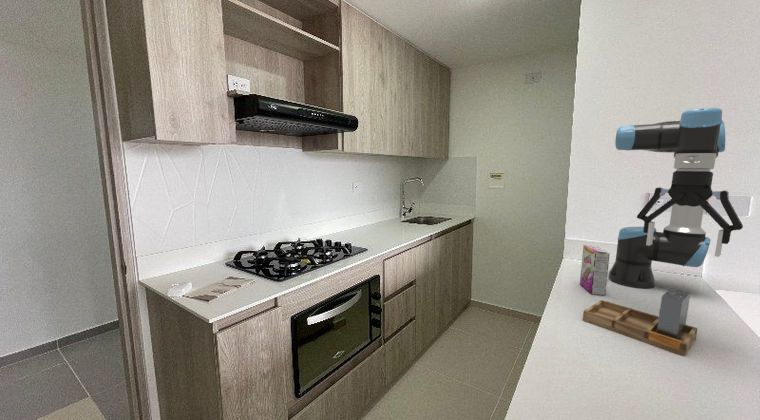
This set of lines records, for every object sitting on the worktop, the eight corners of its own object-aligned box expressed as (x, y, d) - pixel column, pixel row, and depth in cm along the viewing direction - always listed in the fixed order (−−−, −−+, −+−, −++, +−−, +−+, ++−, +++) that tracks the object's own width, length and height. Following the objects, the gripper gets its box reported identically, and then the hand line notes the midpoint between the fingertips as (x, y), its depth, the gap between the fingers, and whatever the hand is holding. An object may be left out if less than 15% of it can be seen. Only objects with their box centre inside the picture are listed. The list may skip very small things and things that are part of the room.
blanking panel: (665, 328, 92) (671, 288, 90) (684, 334, 89) (690, 292, 87) (655, 338, 86) (661, 296, 84) (675, 345, 83) (682, 301, 81)
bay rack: (600, 308, 107) (601, 299, 106) (695, 338, 88) (697, 326, 88) (582, 320, 98) (583, 310, 97) (684, 356, 79) (686, 344, 79)
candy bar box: (578, 284, 129) (582, 244, 127) (592, 285, 128) (596, 245, 126) (590, 294, 118) (595, 251, 116) (605, 296, 117) (610, 252, 115)
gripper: (629, 169, 90) (620, 242, 93) (766, 171, 71) (750, 263, 74) (637, 169, 95) (629, 239, 98) (768, 171, 75) (753, 258, 78)
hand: (681, 250), depth 86 cm, fingers open, 13 cm apart
